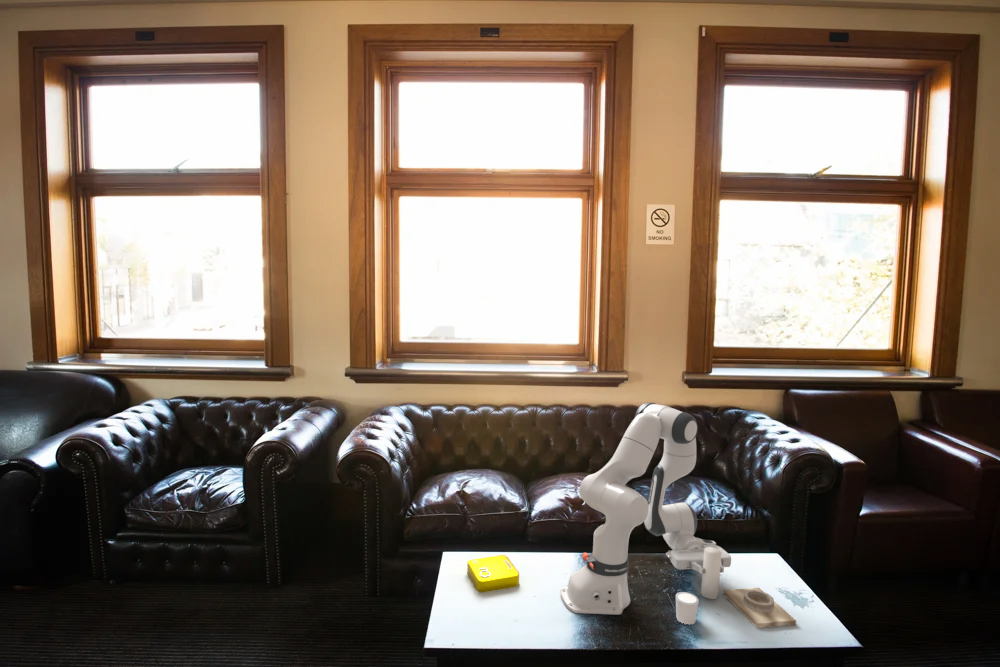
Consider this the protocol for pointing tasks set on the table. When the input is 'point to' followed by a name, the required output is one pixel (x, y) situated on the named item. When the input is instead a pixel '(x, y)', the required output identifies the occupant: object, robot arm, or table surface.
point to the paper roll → (711, 572)
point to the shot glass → (686, 607)
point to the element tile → (492, 573)
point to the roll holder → (759, 607)
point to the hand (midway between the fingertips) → (712, 571)
